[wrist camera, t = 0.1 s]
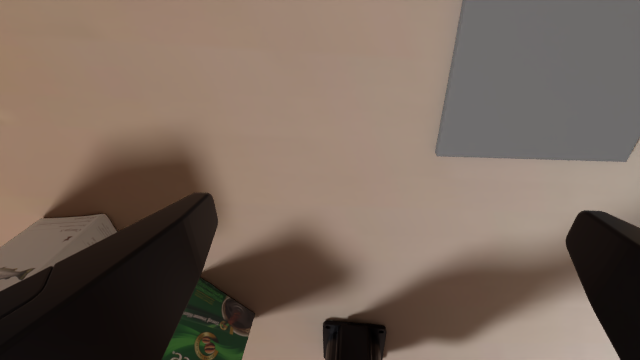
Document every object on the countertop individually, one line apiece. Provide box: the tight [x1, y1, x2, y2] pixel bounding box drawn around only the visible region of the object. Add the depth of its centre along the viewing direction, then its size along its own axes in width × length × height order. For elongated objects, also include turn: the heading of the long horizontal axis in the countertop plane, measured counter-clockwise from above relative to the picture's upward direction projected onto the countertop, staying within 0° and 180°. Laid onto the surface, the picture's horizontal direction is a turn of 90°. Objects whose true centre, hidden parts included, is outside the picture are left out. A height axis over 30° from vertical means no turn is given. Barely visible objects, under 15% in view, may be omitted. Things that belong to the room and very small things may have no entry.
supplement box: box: [0, 214, 117, 291], centre depth 26 cm, size 7×7×13 cm
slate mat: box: [435, 0, 640, 162], centre depth 19 cm, size 12×12×1 cm
